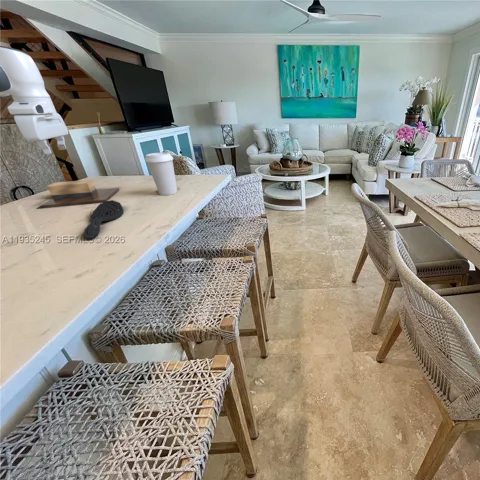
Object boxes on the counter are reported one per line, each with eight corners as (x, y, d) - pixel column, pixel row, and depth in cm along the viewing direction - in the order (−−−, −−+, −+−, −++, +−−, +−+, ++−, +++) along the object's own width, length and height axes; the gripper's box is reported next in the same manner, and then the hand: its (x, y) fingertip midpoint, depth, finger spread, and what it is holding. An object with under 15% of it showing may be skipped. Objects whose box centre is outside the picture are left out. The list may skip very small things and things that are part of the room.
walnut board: (37, 208, 91) (35, 206, 90) (60, 195, 104) (59, 192, 104) (105, 202, 96) (104, 199, 96) (119, 190, 110) (118, 187, 109)
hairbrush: (65, 233, 67) (93, 199, 86) (72, 246, 68) (98, 209, 88) (105, 228, 69) (123, 196, 89) (110, 240, 71) (127, 206, 91)
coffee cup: (153, 192, 107) (141, 153, 100) (178, 188, 112) (169, 151, 105) (157, 198, 100) (145, 157, 93) (184, 193, 105) (174, 154, 99)
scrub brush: (53, 199, 96) (46, 186, 94) (60, 195, 100) (53, 182, 98) (92, 196, 100) (87, 183, 97) (97, 192, 104) (92, 179, 102)
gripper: (42, 107, 94) (60, 147, 100) (3, 108, 77) (27, 157, 83) (63, 107, 96) (80, 147, 102) (30, 107, 79) (52, 155, 85)
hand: (56, 151), depth 93 cm, fingers open, 8 cm apart
